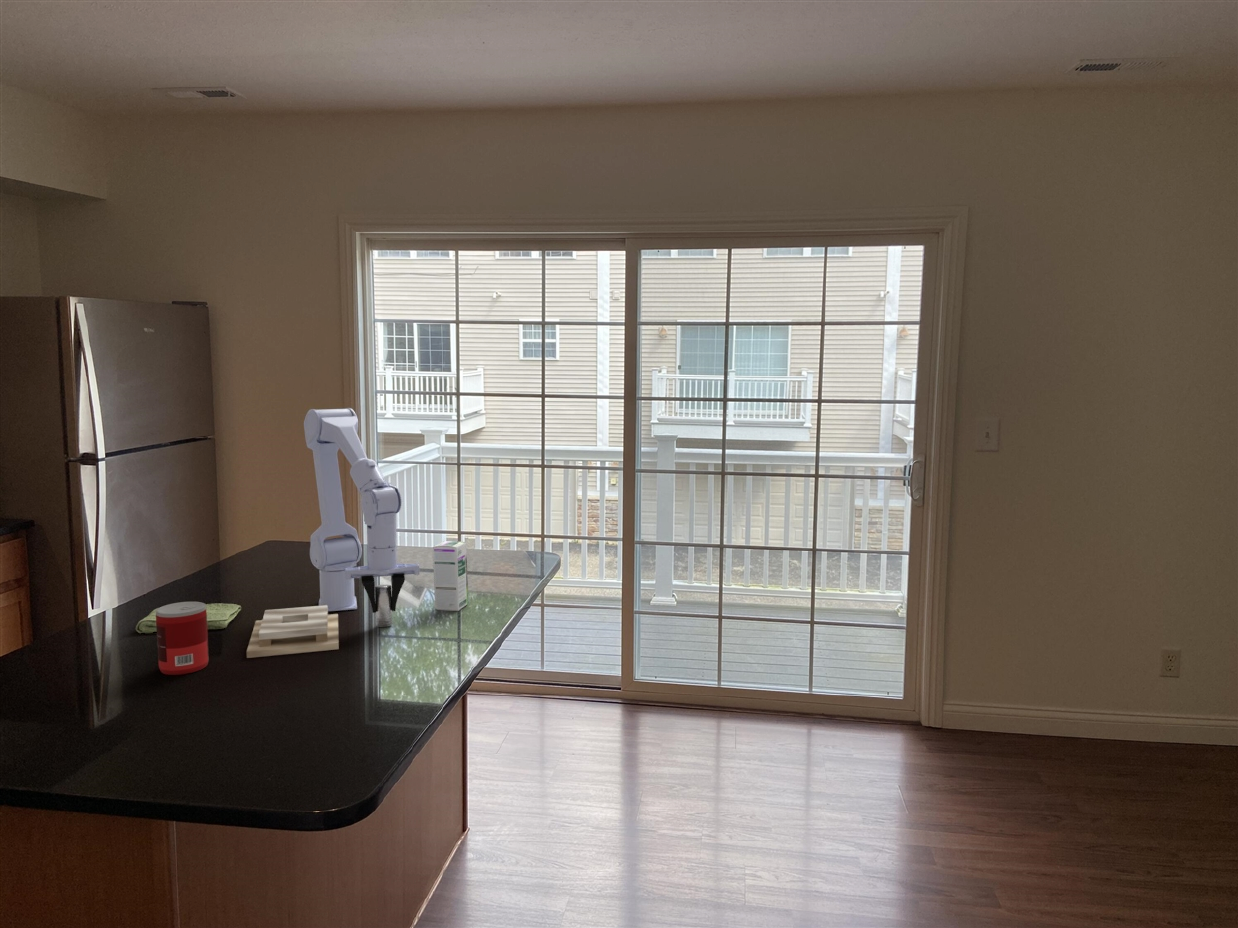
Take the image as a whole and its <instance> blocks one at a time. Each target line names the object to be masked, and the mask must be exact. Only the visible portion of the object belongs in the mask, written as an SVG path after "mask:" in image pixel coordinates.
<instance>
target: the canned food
mask: <svg viewBox="0 0 1238 928" xmlns="http://www.w3.org/2000/svg"><path fill="white" fill-rule="evenodd" d="M157 608H158V609H157V610H156V629H157V633H156V642H157V656H158V658H157V659H158V669H159V671H160V672H161V673H162V674H164V675H169V676H179V675H188V674H191V673H195V672H198V671H199V672H200V670H203V669H204V668H206V667H207V666H208V664H209V659H210V658H209V657H210V656H209V655H210V653H209V636H208V635H209V633H208V632H209V631H208V629H207V612H206V603H204V602H200V601H181V602H174V603H169V604H166V605H163V606H161V607H157Z"/></svg>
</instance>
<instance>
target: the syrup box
mask: <svg viewBox="0 0 1238 928" xmlns="http://www.w3.org/2000/svg"><path fill="white" fill-rule="evenodd" d="M467 553H468V552H467V542H466V541H459V540H447V541H445V540H444V541H442V542H440V543H438V544H437V545H434V546H432V564H433V565H432V567H433V589H434V593H433V594H434V609H435V610H438V611H446V612H447V611H450V612H459V611H460V610H462V609H463V608H465V606H467V605H469V587H468V581H469V580H468V561H467V559H468V558H467V557H468V556H467V555H468V554H467Z"/></svg>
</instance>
